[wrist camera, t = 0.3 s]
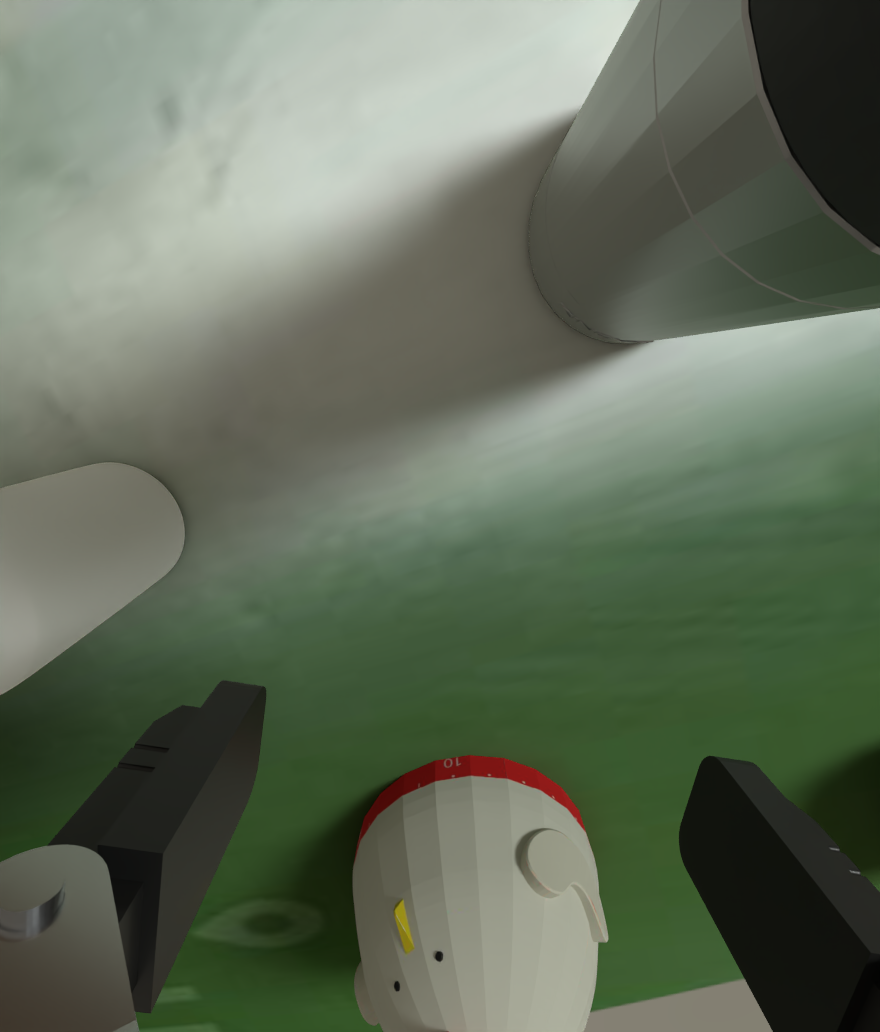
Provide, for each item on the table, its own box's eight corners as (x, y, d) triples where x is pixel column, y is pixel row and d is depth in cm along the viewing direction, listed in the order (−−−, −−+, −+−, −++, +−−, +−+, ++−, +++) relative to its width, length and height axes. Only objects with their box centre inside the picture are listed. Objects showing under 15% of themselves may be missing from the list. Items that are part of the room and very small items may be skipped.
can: (81, 591, 28) (-173, 747, 16) (41, 469, 26) (-274, 545, 15) (203, 576, 28) (34, 722, 16) (170, 452, 26) (-44, 516, 14)
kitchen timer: (481, 711, 30) (522, 1029, 15) (633, 855, 33) (790, 1242, 18) (310, 849, 32) (206, 1236, 18) (464, 972, 35) (483, 1397, 21)
